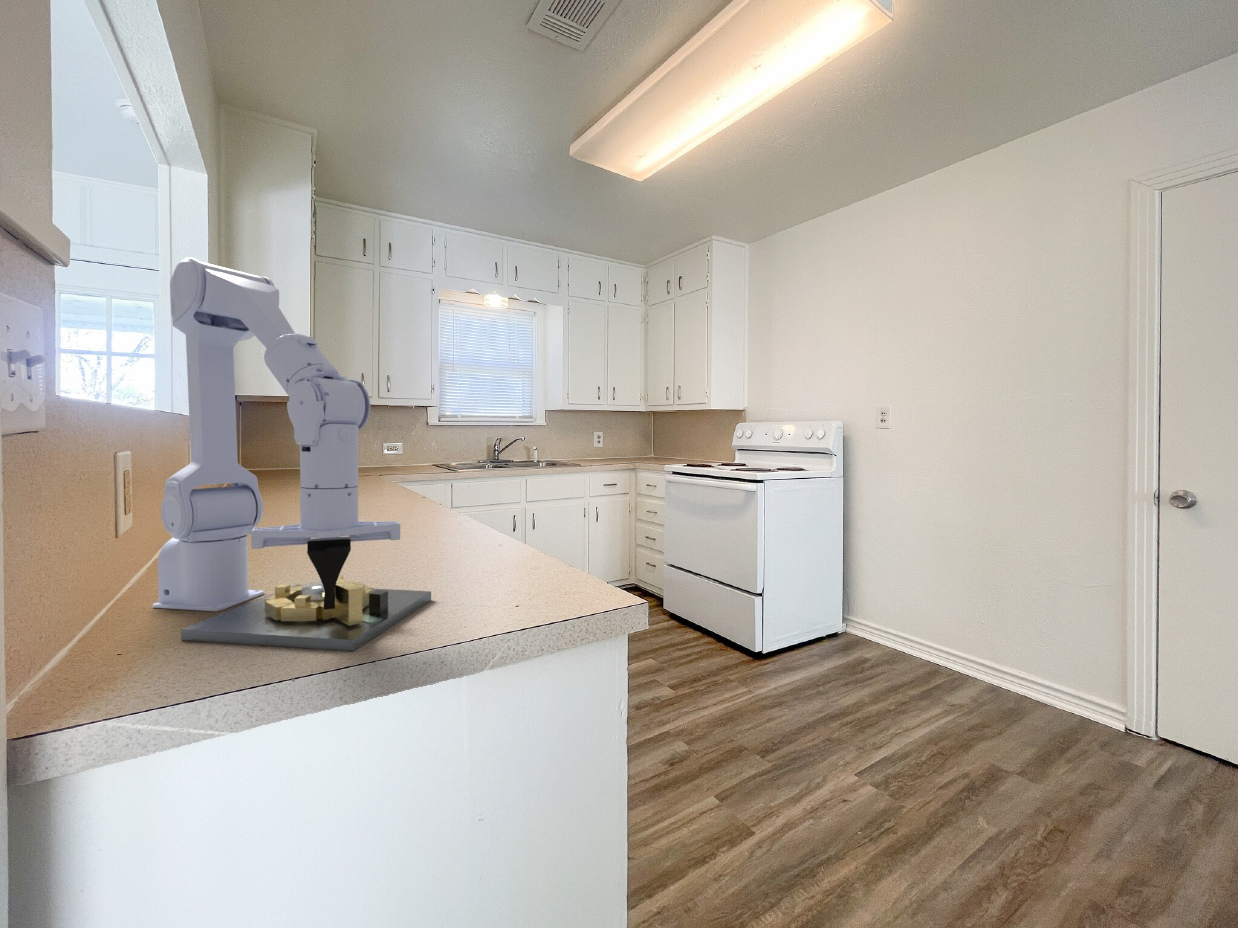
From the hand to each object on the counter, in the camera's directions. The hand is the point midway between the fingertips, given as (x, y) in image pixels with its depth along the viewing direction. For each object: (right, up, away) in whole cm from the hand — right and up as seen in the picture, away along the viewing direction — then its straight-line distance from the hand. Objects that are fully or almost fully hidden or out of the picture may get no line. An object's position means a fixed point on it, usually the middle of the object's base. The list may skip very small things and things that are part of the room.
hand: (330, 606), depth 60 cm
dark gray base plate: (-4, -3, +6) cm, 8 cm away
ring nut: (-3, -2, +5) cm, 6 cm away
